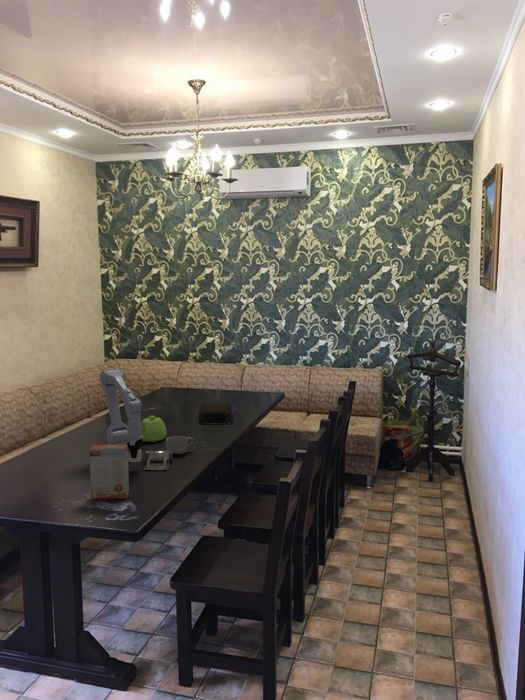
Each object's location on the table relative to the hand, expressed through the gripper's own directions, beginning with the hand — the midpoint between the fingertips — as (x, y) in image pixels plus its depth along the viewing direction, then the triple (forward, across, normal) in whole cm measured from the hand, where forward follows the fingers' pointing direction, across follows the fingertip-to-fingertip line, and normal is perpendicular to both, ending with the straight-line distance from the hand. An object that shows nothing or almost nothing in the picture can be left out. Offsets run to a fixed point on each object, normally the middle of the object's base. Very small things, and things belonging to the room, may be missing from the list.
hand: (134, 456), depth 263 cm
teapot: (+8, +50, -2) cm, 50 cm away
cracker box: (+7, -31, +5) cm, 32 cm away
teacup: (+7, +26, -19) cm, 33 cm away
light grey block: (+2, 0, 0) cm, 2 cm away
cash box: (+8, +95, -36) cm, 102 cm away
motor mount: (+7, +7, -10) cm, 14 cm away
